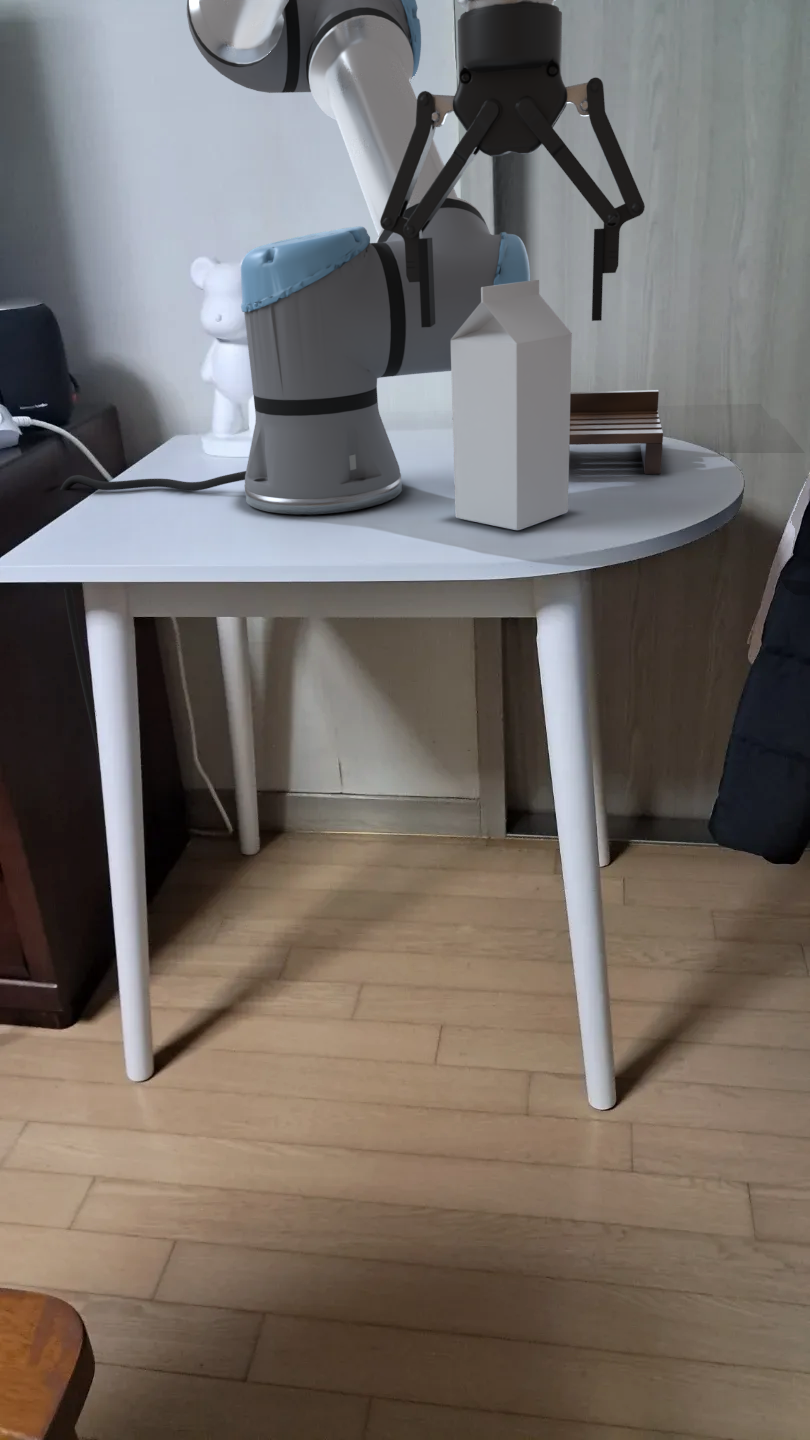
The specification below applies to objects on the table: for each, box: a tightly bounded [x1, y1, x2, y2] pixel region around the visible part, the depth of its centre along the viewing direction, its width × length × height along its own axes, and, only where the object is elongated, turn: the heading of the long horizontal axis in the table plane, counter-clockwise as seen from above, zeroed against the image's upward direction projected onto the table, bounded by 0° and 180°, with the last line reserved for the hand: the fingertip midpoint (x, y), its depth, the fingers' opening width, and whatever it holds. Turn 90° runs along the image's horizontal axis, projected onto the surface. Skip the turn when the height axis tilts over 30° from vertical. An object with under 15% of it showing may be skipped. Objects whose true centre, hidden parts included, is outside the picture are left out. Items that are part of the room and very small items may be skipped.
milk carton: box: [450, 279, 573, 531], centre depth 87 cm, size 7×7×19 cm
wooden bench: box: [569, 389, 664, 475], centre depth 108 cm, size 13×13×6 cm
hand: (511, 323), depth 83 cm, fingers open, 13 cm apart
